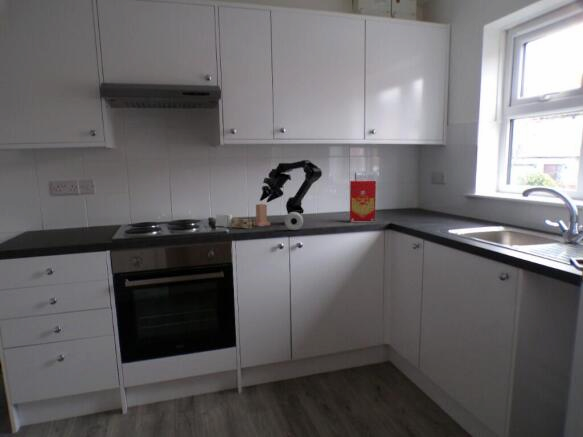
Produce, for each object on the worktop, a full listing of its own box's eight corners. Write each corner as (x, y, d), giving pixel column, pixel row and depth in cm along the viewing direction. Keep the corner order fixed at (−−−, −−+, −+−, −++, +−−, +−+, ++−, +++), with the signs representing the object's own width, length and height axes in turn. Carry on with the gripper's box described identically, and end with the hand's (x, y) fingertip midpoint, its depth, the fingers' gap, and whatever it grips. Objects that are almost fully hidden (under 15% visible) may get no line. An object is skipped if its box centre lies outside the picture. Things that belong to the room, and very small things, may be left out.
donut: (303, 229, 202) (303, 211, 200) (303, 230, 198) (303, 212, 197) (284, 229, 201) (284, 211, 200) (284, 230, 198) (284, 212, 197)
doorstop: (263, 223, 224) (263, 203, 223) (270, 224, 218) (270, 204, 217) (252, 224, 220) (252, 204, 218) (259, 226, 214) (259, 205, 212)
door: (230, 227, 209) (230, 218, 209) (233, 226, 211) (233, 218, 210) (249, 228, 204) (249, 219, 203) (251, 228, 206) (251, 219, 205)
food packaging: (350, 222, 226) (350, 181, 222) (349, 221, 231) (350, 180, 227) (374, 222, 225) (375, 181, 221) (373, 221, 230) (374, 180, 226)
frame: (216, 226, 213) (215, 214, 212) (218, 226, 215) (218, 214, 214) (231, 227, 210) (230, 215, 209) (233, 226, 212) (232, 214, 211)
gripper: (264, 172, 229) (248, 191, 225) (278, 173, 213) (261, 193, 209) (275, 184, 234) (260, 203, 230) (290, 186, 218) (274, 206, 214)
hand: (263, 201), depth 221 cm, fingers open, 9 cm apart
